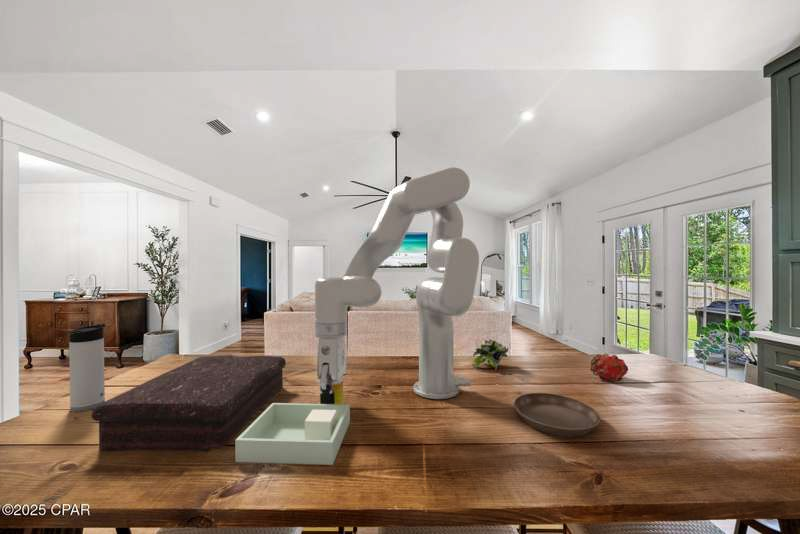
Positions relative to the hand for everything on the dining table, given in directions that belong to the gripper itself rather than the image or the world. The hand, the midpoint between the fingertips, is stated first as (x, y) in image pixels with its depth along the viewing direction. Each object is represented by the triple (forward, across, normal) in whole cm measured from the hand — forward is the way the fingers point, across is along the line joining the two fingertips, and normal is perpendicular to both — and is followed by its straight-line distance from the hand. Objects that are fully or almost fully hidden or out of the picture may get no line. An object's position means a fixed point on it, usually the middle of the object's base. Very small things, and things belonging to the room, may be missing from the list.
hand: (331, 402), depth 80 cm
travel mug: (+2, 0, +61) cm, 61 cm away
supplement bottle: (+2, 0, 0) cm, 2 cm away
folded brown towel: (+3, -2, +29) cm, 29 cm away
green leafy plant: (+2, +35, -46) cm, 58 cm away
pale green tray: (+2, -14, +3) cm, 14 cm away
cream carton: (+2, -14, -2) cm, 14 cm away
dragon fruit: (+2, +26, -80) cm, 84 cm away
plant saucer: (+3, -2, -52) cm, 52 cm away
